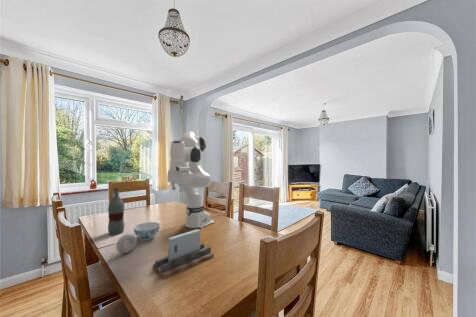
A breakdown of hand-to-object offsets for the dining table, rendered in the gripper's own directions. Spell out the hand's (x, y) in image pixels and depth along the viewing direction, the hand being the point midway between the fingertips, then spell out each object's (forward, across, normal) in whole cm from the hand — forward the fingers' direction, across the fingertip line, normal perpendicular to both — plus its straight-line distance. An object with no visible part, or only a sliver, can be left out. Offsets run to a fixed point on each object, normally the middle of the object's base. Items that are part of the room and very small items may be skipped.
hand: (177, 190), depth 116 cm
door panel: (+30, +22, -8) cm, 38 cm away
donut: (+31, -8, -25) cm, 41 cm away
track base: (+31, +22, -8) cm, 39 cm away
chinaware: (+31, -20, -10) cm, 39 cm away
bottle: (+31, -44, -21) cm, 58 cm away
